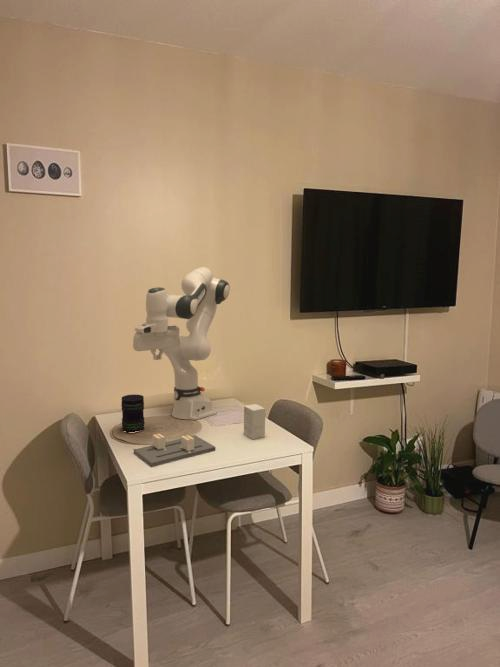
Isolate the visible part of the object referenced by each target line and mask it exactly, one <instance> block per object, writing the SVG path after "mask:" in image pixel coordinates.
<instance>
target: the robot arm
mask: <svg viewBox="0 0 500 667" xmlns="http://www.w3.org/2000/svg"><path fill="white" fill-rule="evenodd" d="M180 286H181V289H182V292H183V293H184V294H185V295H179V294H169V293H168V292H167V291H166V288H164V287H159V286H158V287H151V288H150V289H147V292H146V295H145V296H146V298H145V311H146V317H145V322H144V323H142V324H139V325H136V326H135V328H134V331H135V332H134V335H133V340H132V348H133V350H134V351H136V352H143V351H145V352H146V351H150V353H151V355H152V356H153V357H152V358H153V359H152V360H153V361H157V360H158V361H161V360H162V355H163V354H164V355H165V356H166V357H167V358H168V360H169V361H170V364H171V365H172V369H173V373H174V387H173V399H174V402H173V409H172V413H171V416H172V417H173V418H175V419H180V420H193V421H197V420H200V419H203V418H207V417H210V416H213V415H216V414H218V411H217V409H216V408H214V407H213V404H212V403H213V402H212V400H211V399H209V397H207V396H205V395H204V394H203V393H202V392H205V390H206V389H205V387H203V386H198V384H199V382H198V381H199V380H198V377H199V376H198V375H199V374H198V371H197V368H195V367H194V366H193V365H192V363H191V362H190V361H194V362H197V361H204V360H207V359H208V357H210V355H211V351H212V348H211V345H210V342H209V341H208V340H207V335H208V334H207V333H208V331H209V329H210V326H211V324H212V322H213V319H214V317H215V314H216V311H217V309H218V308H217V307H218V305H220V304H222V302H225V300H226V299H227V298H228V297H229V294H230V290H231V289H230V288H231V287H230V284H229V282H228V281H227V280H224V279H220V278H217V277H214V276H213V272H212V271H211V269H209V268H208V267H205V266H200V267H198V268H197V267H196V268H195V269H192V270H191V271H189V273H187V274H186V275H185V276H184V277H183V278H182V280H181V285H180ZM169 318H178V319H184V320H187V321H186V322H185V323H186V324H185V325H186V329H187V331H188V333H189V335H187V336H184V335H180V328H179V326H177V325H169V322H168V320H169ZM157 350H158V351H159V352H158V354H156V352H157Z"/></svg>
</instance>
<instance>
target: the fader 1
mask: <svg viewBox="0 0 500 667" xmlns="http://www.w3.org/2000/svg"><path fill="white" fill-rule="evenodd" d="M165 442H166V436H165V435H162V434H161V433H155V434H152V445H153V446H154V447H155V448H157V449H158V450H159V449H163V448H165Z"/></svg>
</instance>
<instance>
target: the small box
mask: <svg viewBox="0 0 500 667" xmlns="http://www.w3.org/2000/svg"><path fill="white" fill-rule="evenodd" d="M265 432H266V408H264V407H263V406H261V405H259V404H256V403H253V404H248V405H247V404H246V405H244V406H243V435H245V436H246V437H248V438H250V439H251V440H257V439H258V440H259V439H263V438H265V437H266V433H265Z"/></svg>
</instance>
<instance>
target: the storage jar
mask: <svg viewBox="0 0 500 667" xmlns="http://www.w3.org/2000/svg"><path fill="white" fill-rule="evenodd" d="M144 409H145V401H144V395H141V394H127V395H124V396H122V397H121V411H122V412H121V413H122V414H121V416H122V418H121V427H122V428H121V430H123V431H126V432H135V431H140V430H143V429H144V430H145V417H144V416H145V415H144ZM144 430H143V431H144ZM123 431H122V432H123Z"/></svg>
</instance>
